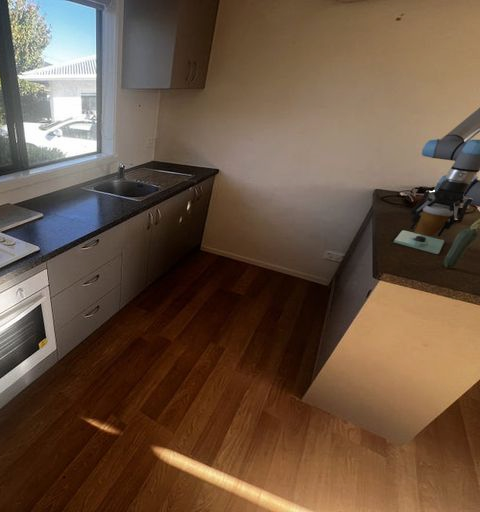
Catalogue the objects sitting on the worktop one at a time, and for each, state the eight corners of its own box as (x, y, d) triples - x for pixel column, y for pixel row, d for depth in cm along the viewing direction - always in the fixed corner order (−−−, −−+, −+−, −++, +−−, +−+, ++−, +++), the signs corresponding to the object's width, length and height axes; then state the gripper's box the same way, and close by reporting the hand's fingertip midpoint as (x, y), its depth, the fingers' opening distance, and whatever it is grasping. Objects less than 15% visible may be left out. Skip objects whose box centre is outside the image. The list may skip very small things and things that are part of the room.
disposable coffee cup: (445, 239, 124) (463, 212, 118) (419, 236, 125) (436, 210, 119) (427, 230, 132) (444, 205, 126) (403, 228, 133) (418, 203, 127)
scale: (401, 232, 139) (404, 226, 137) (442, 242, 129) (447, 236, 128) (393, 242, 128) (396, 236, 127) (437, 254, 119) (442, 248, 118)
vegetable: (449, 271, 108) (486, 221, 98) (434, 265, 111) (468, 217, 101) (455, 269, 109) (491, 220, 99) (439, 263, 113) (473, 215, 103)
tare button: (414, 238, 126) (417, 235, 125) (424, 241, 124) (426, 237, 123) (413, 240, 124) (416, 237, 123) (423, 243, 122) (425, 239, 121)
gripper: (420, 176, 122) (392, 226, 133) (497, 188, 108) (458, 242, 119) (423, 174, 126) (395, 222, 137) (497, 185, 112) (460, 238, 123)
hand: (424, 231), depth 128 cm, fingers closed on disposable coffee cup, 8 cm apart
